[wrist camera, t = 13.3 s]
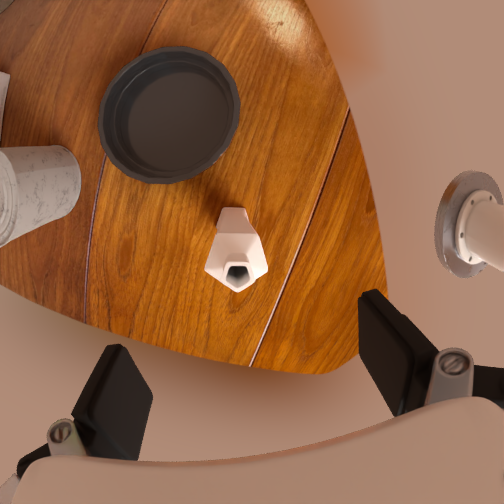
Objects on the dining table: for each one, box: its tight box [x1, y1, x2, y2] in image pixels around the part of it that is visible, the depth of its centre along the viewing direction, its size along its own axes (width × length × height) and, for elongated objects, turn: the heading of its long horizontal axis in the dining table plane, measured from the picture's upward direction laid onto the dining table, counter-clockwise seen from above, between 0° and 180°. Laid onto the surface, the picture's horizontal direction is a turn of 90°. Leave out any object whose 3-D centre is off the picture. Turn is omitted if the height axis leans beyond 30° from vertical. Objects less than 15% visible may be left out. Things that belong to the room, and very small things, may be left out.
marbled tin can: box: [0, 145, 81, 247], centre depth 22 cm, size 10×10×12 cm
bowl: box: [98, 46, 240, 184], centre depth 25 cm, size 14×14×4 cm
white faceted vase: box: [205, 207, 268, 292], centre depth 25 cm, size 5×4×15 cm
